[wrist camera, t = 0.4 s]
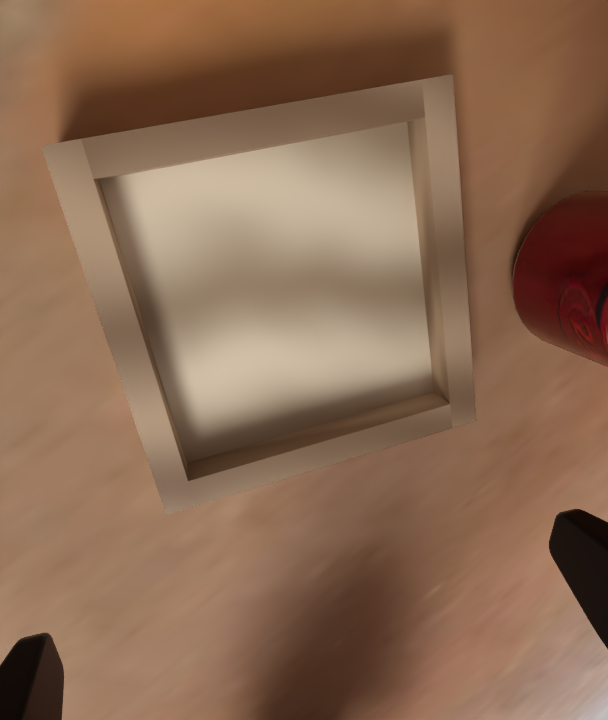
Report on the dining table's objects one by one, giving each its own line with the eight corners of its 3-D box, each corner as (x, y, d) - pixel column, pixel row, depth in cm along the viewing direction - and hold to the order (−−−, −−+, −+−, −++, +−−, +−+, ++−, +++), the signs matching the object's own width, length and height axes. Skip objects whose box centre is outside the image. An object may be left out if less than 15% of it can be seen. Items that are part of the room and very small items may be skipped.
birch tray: (448, 399, 25) (476, 420, 23) (166, 482, 23) (166, 514, 21) (420, 87, 20) (452, 73, 18) (57, 151, 18) (40, 145, 16)
